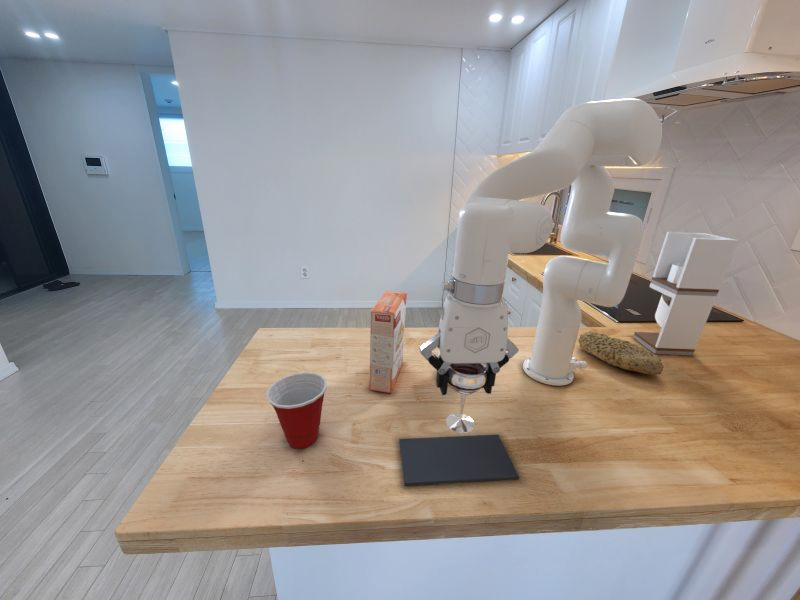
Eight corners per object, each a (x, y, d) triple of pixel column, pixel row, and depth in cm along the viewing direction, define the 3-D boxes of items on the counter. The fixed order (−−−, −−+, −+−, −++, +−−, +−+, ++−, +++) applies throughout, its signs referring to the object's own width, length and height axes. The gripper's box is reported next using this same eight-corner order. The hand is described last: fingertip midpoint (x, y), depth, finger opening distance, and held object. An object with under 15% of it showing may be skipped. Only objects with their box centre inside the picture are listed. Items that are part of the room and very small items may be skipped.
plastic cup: (296, 412, 72) (291, 364, 68) (340, 427, 69) (338, 377, 64) (259, 448, 63) (251, 395, 58) (308, 467, 59) (303, 412, 55)
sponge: (571, 353, 103) (632, 377, 84) (577, 328, 102) (640, 347, 83) (604, 355, 107) (669, 380, 88) (610, 332, 106) (677, 351, 87)
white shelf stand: (667, 338, 111) (705, 233, 99) (692, 355, 102) (739, 240, 89) (633, 337, 112) (667, 231, 99) (655, 353, 102) (696, 238, 89)
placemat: (497, 436, 68) (498, 434, 67) (518, 479, 58) (519, 476, 58) (399, 441, 66) (399, 438, 65) (404, 486, 56) (404, 483, 56)
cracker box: (393, 394, 79) (395, 313, 71) (368, 390, 80) (368, 310, 72) (404, 363, 92) (407, 291, 84) (383, 360, 93) (384, 289, 85)
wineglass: (487, 423, 59) (496, 364, 54) (464, 443, 54) (473, 381, 50) (456, 404, 63) (462, 349, 59) (432, 421, 59) (437, 362, 54)
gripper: (423, 298, 45) (416, 405, 52) (544, 298, 47) (523, 402, 54) (415, 281, 52) (410, 377, 59) (521, 281, 54) (505, 375, 61)
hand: (464, 388), depth 56 cm, fingers closed on wineglass, 6 cm apart
